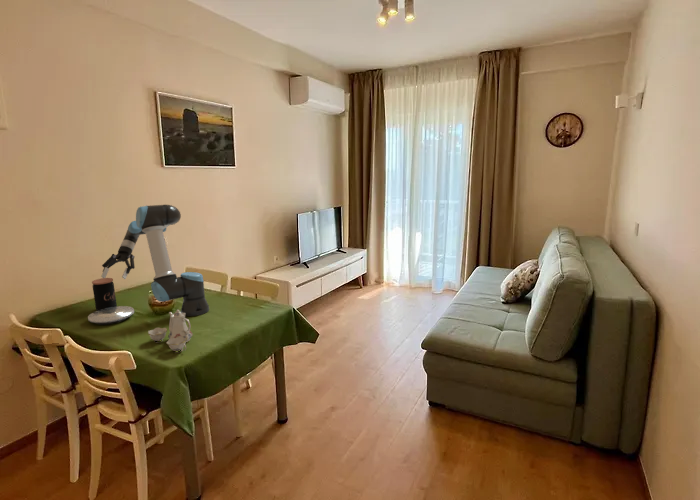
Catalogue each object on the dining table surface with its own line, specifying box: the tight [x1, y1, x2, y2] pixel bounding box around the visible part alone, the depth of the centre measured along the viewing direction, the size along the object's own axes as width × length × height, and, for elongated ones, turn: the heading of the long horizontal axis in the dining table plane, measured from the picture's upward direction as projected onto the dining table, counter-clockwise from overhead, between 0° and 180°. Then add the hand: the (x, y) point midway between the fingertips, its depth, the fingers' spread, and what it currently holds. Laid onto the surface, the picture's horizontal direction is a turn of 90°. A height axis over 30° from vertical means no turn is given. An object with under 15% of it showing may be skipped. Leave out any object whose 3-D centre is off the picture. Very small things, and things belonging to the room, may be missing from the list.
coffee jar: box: [91, 277, 117, 311], centre depth 231 cm, size 11×11×18 cm
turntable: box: [87, 305, 135, 324], centre depth 217 cm, size 22×22×2 cm
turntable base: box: [95, 317, 129, 326], centre depth 217 cm, size 16×16×2 cm
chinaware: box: [147, 309, 194, 352], centre depth 185 cm, size 28×17×17 cm, turn 58°
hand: (113, 277), depth 238 cm, fingers open, 13 cm apart
